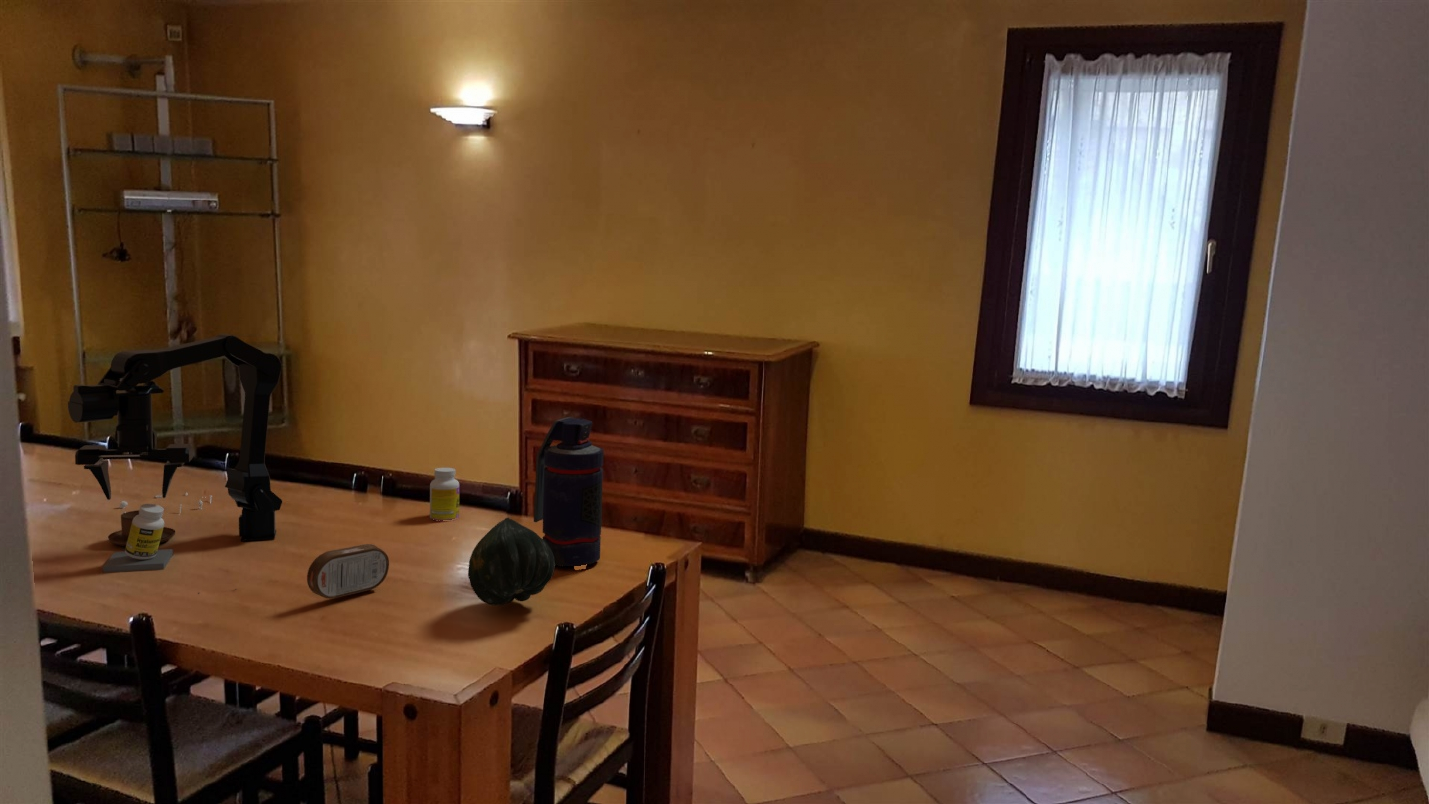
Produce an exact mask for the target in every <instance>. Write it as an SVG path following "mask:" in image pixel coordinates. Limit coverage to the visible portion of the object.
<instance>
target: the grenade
mask: <svg viewBox="0 0 1429 804" xmlns="http://www.w3.org/2000/svg"><path fill="white" fill-rule="evenodd" d="M593 423H594V422H593V421H592V420H587V419H585V418H580V417H579V418H578V417H577V418H574V417H571V416H569V417H567V416H566V417H564V418H559V419H557V420H554V421H553V423H552V425H551V426H550V427H549V430H548V432H547V434H546V436H545V437H544V439H543V441H542V443H541V446H540V447H539V449H538V452H537V454H536V461H535V462H536V463H535V464H536V466H535V483H534V485H535V486H534V501H533V506H534V507H533V522H534V523H538V522H539V521H542V533H543V534H544V535H543V536H542V539H543V540H544V541H545V542H546V543H547V544H548V546H549V547H550V549H551V551H552V553H553V556H554V561H555V566H556V565H558V566H557V567H563V566H581V565H586V564H589V565H591V563H592V564H594V563H596V562H598V561H599V560H600V558H601V538H602V536H601V535H602V513H603V512H602V511H603V510H602V509H603V483H604V481H603V480H604V469H603V468H602V467H603V466H604V449H603V448H601V447H599V446H595V445H593V442H592V441H591V440H590V434H591V430H592V426H593ZM553 441H557V442H558V441H560V442H559V443H557V444H556V445H552V443H553Z"/></svg>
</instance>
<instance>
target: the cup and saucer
mask: <svg viewBox="0 0 1429 804" xmlns="http://www.w3.org/2000/svg"><path fill="white" fill-rule="evenodd" d="M139 510H140V509H137V510H131V511H127V512H126V511H125V512H126V513H122V514H121V515H120V525H121V530H117V531H116V530H115V531H113V532H111V533H110V534H109V535H108V536H107V539H108V541H109V542H111V543H112V544H114V545H117V546H120V547H126V544H127V540H128V537H129V533H130V529H131V524H132V521H133V518H134V517H135V516H136V515H139ZM161 518H162V519H163V516H162V517H161ZM175 535H176V530H175V529H174V528H172V527H167V526H164V528H163V532H162V535H161V539H160V543H159V544H162V543H165V542H166V541H169V540H170V539H172V538H173V537H175Z"/></svg>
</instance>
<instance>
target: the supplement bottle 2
mask: <svg viewBox="0 0 1429 804" xmlns="http://www.w3.org/2000/svg"><path fill="white" fill-rule="evenodd" d="M455 475H456V469H455V468H453V467H438V468H435V469H434V477H435V478H434V479H432V480H431V482H430V484H429V519H430V518H431V519H434V520H440V521H443V520H452V519H455V518H458V517H459V518H460V482H459V481H458V479H456V478H455ZM459 518H458V519H459ZM431 519H430V520H431Z"/></svg>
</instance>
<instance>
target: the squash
mask: <svg viewBox="0 0 1429 804" xmlns="http://www.w3.org/2000/svg"><path fill="white" fill-rule="evenodd" d="M555 566H556V565H555V561H554V556H553V553H552V551H551V549H550V547H549V546H548V544H547V543H546V542H545V541H544V540H543V537H542V538H541V536H539V535H538V533H536V532H535V531H534V530H532V529H530V528H528V527H527V526H525V525H523V524H521V523H519V522H517V521H516V520H515V519H512V518H510V517H505V518H504V519H502V520H500V521H499V522H497V524H495V525H494V526H493V527H492V528H491V529H489V531H488V532H487V533H486V534H485V535H484V536H483V537H481V539H480V540H479V541H478V542H477V543H476V545H475V547H474V548H473V550H472V552H471V554H470V557H469V561H468V569H467V570H468V571H467V574H468V580H469V584H470V587H471V589H472V590H473V593H474V594H475V595H476V597H477V598H478V599H479V600H481V601H482V602H483V603H485V604H487V605H491V606H503V605H505V604H510V603H512V602H514V601H517V602H525V601H528V600H529V599H530V598H531V596H534V595H538V594H540V593H541V592H542V591H543V590H544V589H545V587H546V586H547V584H548V583H549V582H550V581H551V579H552V578H553V575H554V571H555V568H556V567H555ZM514 599H515V600H514Z"/></svg>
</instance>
